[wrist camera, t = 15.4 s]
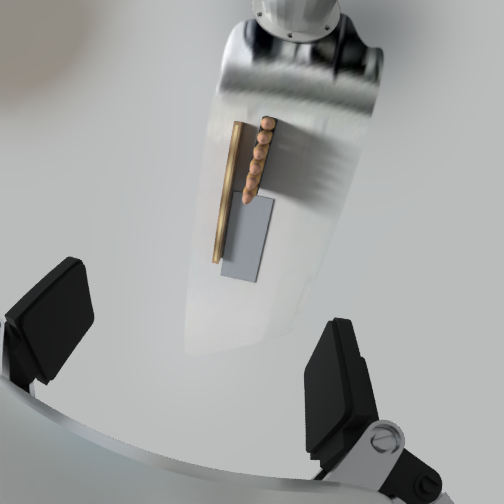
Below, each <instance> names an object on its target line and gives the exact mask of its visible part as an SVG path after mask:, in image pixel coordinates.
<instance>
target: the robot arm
mask: <svg viewBox="0 0 504 504" xmlns="http://www.w3.org/2000/svg"><path fill="white" fill-rule="evenodd" d="M252 8H253V13H254V16H255V18H256V20H257V22H258V24H259V25H260V26H261V27H262V28H263V29H264V30H265V31H267V32H268V33H269V34H271V35H273V36H274V37H277V38H279V39H282V40H285V41H290V42H298V43H304V42H312V41H317V40H319V39H322V38H324V37H325V36H327V35H329V34H330V33H331V32H332V31H333V30H334V29H335V27H336V26H337V24H338V22H339V19H340V14H341V13H340V6H339V3H338V1H337V0H253V3H252ZM259 16H262V17H259ZM325 28H327V29H328V30H325ZM289 36H292V38H289ZM5 317H6V320H7V321H6V322H5V323H4V321H3V319H2V318H1V317H0V504H454V503H453V501H452V500H451V499H450V497H449V496H448V495H447V493H446V492H445V493H443V494H442V492H441V490H442V480H441V477H440V475H439V474H438V473H437V472H436V471H435V470H434V469H432V468H431V467H429V466H428V465H426V464H425V463H424V462H422V461H421V460H420V459H418V458H417V457H415V456H414V455H413V454H411V453H410V452H409V451H407V450H406V449H405V448H404V445H405V438H404V434H403V432H402V430H401V429H400V427H398V426H397V425H396V424H395V423H393V422H391V421H388V420H379V417H378V412H377V408H376V403H375V398H374V394H373V389H372V385H371V381H370V377H369V373H368V369H367V365H366V361H365V359H364V358H363V357H361V356H360V352H359V348H358V344H357V340H356V337H355V333H354V329H353V326H352V322H351V320H349V319H343V318H334V319H333V321H328V323H327V325H326V327H325V329H324V331H323V333H322V335H321V338H320V340H319V342H318V344H317V346H316V348H315V350H314V352H313V354H312V356H311V358H310V360H309V362H308V364H307V366H306V368H305V372H304V388H305V423H306V451H307V452H308V453H310V456H311V458H310V459H311V460H320V467H321V470H320V471H319V472H318V473H317V474H316V475H315V476H314V477H313V478H312V479H311V480H302V479H288V478H275V477H265V476H257V475H249V474H242V473H235V472H229V471H224V470H218V469H213V468H208V467H203V466H199V465H195V464H190V463H186V462H182V461H178V460H175V459H171V458H168V457H164V456H161V455H158V454H155V453H152V452H149V451H146V450H143V449H140V448H137V447H134V446H132V445H129V444H126V443H124V442H121V441H119V440H116V439H114V438H111V437H109V436H107V435H104V434H102V433H100V432H98V431H96V430H93V429H91V428H89V427H87V426H85V425H83V424H81V423H79V422H77V421H75V420H73V419H71V418H69V417H67V416H65V415H63V414H62V413H60V412H58V411H56V410H55V409H53V408H51V407H49V406H48V405H46V404H44V403H43V402H41V401H39V400H38V399H36V398H35V391H34V383H33V381H34V379H35V378H37V380H38V381H40V382H42V383H43V384H45V385H47V384H48V383H49V381H50V380H53V379H54V378H55V377H56V375H57V373H58V372H59V371H60V369H61V368H62V366H63V365H64V363H65V362H66V360H67V359H68V357H69V356H70V355H71V353H72V352H73V350H74V349H75V347H76V346H77V345H78V343H79V342H80V340H81V339H82V338H83V336H84V335H85V334H86V332H87V331H88V329H89V328H90V327H91V325H92V324H93V322H94V312H93V307H92V303H91V298H90V292H89V286H88V281H87V274H86V268H85V265H84V264H83V262H82V260H80V259H77V258H73V257H67V258H66V259H64V260H63V261H62V262H61V263H60V264H59V265H57V266H56V267H55V268H54V269H53V270H52V271H50V272H49V273H48V274H47V275H46V276H45V277H44V278H43V279H41V280H40V281H39V283H37V284H36V285H35V286H34V287H33V288H32V289H31V290H30V291H29V292H28V293H26V294H25V295H24V296H23V297H22V298H21V299H20V300H19V301H18V302H17V303H16V304H15V305H14V306H13V307H12V308H11V309H10V310H9V311H8V312H7V313H6V314H5Z"/></svg>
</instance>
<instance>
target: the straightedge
mask: <svg viewBox="0 0 504 504" xmlns="http://www.w3.org/2000/svg"><path fill="white" fill-rule="evenodd" d="M243 124H244V122H239V121H234V125H233V131H232V136H231V142H230V148H229V154H228V159H227V165H226V171H225V178H224V184H223V190H222V197H221V203H220V210H219V216H218V223H217V230H216V238H215V245H214V252H213V260H212V263H217V264H218V263H219V261H220V258H221V254H222V248H223V241H224V235H225V228H226V222H227V216H228V209H229V203H230V197H231V191H232V185H233V180H234V174H235V168H236V162H237V157H238V151H239V146H240V140H241V135H242V129H243Z"/></svg>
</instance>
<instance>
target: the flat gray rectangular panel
mask: <svg viewBox="0 0 504 504" xmlns="http://www.w3.org/2000/svg"><path fill="white" fill-rule="evenodd" d="M242 197H243V193H242V192H237V191H234V194H233V200H232V206H231V212H230V218H229V224H228V230H227V237H226V243H225V249H224V256H223V262H222V269H221V276H226V277H231V278H235V279H240V280H245V281H250V282H254V283H255V279H256V275H257V270H258V266H259V261H260V257H261V253H262V248H263V244H264V239H265V235H266V230H267V226H268V221H269V217H270V212H271V208H272V203H273V199H271V198H267V197H262V196H257V195H256V196H255V197H254V198H253V199H252V201H251V202H250V203H249V204H247V205H245V204H244V203H243V201H242Z"/></svg>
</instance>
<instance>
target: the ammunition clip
mask: <svg viewBox="0 0 504 504" xmlns="http://www.w3.org/2000/svg"><path fill="white" fill-rule="evenodd" d="M277 121H278V119H276V118H273V117H269V116H264V117H263V118H262V121H261V125H260V129H259V133H258V136H257V140H256V144H255V148H254V151H253V156H252V159H251V163H250V167H249V171H248V175H247V178H246V183H245V187H244V190H243V197H242V201H243V203H244V204H245V205H247V204H249V203H250V202H251V201H252V199H253V198H254V197H255V196H256V195H257V193H258V190H259V187H260V183H261V179H262V176H263V172H264V168H265V164H266V161H267V157H268V153H269V150H270V146H271V142H272V139H273V135H274V132H275V128H276V124H277ZM261 127H262V128H261ZM260 130H261V131H260ZM257 142H258V143H257ZM256 145H257V146H256ZM253 157H254V158H253Z"/></svg>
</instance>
